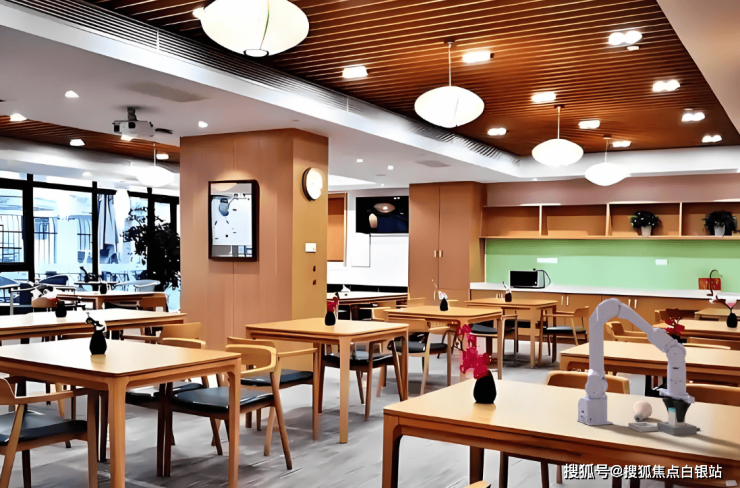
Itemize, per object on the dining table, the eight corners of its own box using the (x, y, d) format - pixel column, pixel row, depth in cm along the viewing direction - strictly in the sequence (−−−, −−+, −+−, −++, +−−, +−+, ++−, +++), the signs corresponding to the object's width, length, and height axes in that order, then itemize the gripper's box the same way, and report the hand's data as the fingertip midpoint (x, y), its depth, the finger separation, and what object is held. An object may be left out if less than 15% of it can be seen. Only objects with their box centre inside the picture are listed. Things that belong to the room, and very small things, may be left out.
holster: (640, 431, 228) (640, 427, 228) (628, 427, 234) (628, 422, 234) (658, 430, 230) (658, 426, 230) (645, 426, 236) (645, 421, 236)
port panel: (673, 435, 224) (673, 427, 224) (657, 429, 231) (657, 422, 231) (708, 433, 227) (708, 425, 227) (691, 427, 235) (691, 420, 235)
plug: (674, 431, 227) (675, 409, 227) (668, 428, 230) (668, 407, 230) (685, 430, 228) (685, 409, 228) (678, 428, 231) (678, 407, 231)
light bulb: (644, 410, 240) (651, 396, 249) (625, 411, 244) (633, 397, 253) (649, 427, 241) (656, 413, 250) (630, 428, 245) (638, 414, 253)
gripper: (702, 383, 223) (702, 425, 223) (671, 376, 237) (671, 415, 237) (684, 384, 221) (684, 426, 221) (654, 376, 235) (654, 416, 235)
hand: (676, 420), depth 229 cm, fingers closed on plug, 3 cm apart
